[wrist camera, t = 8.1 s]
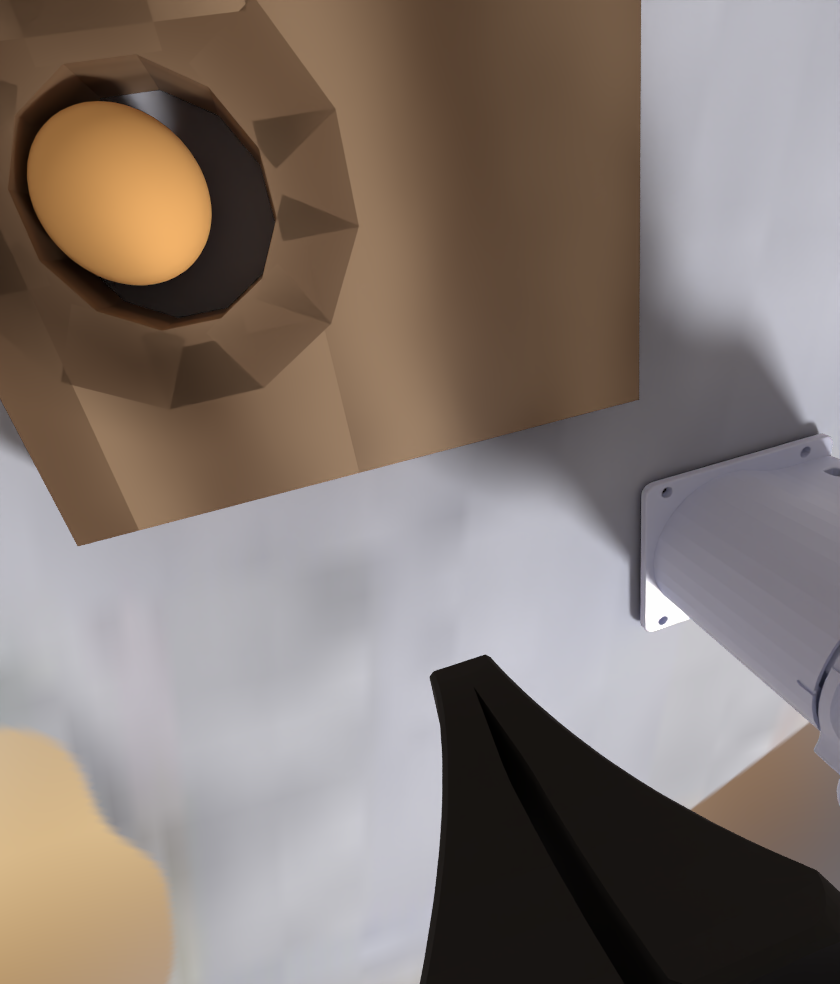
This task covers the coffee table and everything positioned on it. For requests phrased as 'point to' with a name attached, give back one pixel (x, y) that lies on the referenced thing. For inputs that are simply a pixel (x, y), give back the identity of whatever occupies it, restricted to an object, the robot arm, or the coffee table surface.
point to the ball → (119, 193)
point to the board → (332, 244)
